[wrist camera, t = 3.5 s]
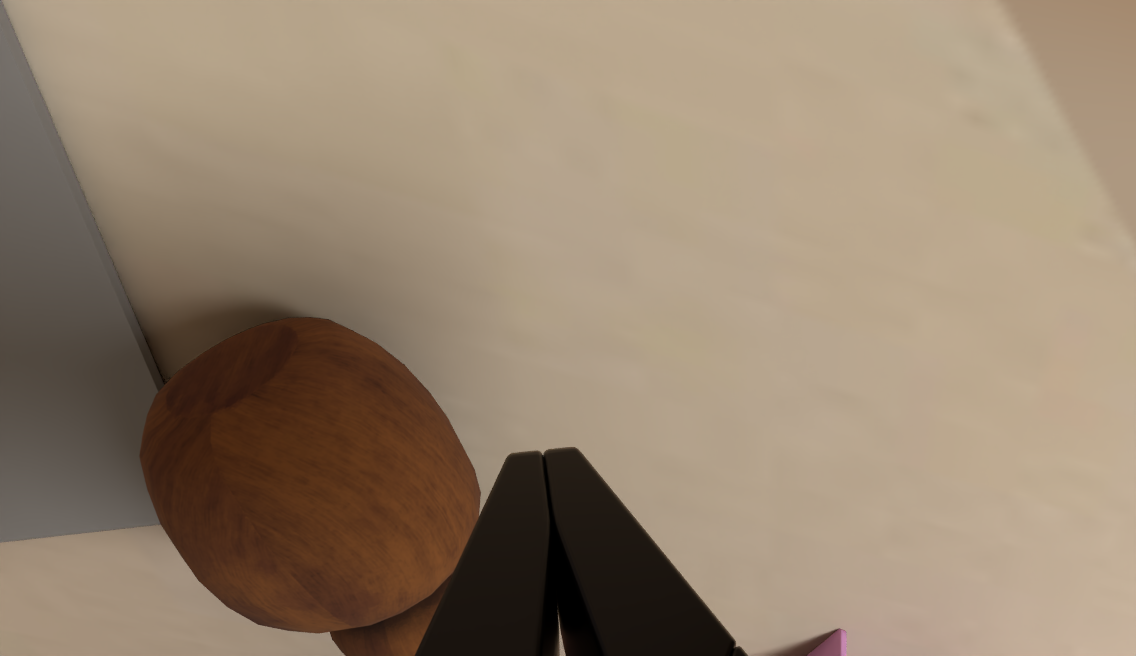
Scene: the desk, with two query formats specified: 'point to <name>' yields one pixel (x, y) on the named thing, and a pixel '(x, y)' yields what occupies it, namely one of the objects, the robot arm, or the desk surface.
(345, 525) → the wooden figurine
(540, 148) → the desk surface
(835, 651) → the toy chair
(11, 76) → the mat
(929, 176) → the desk surface
